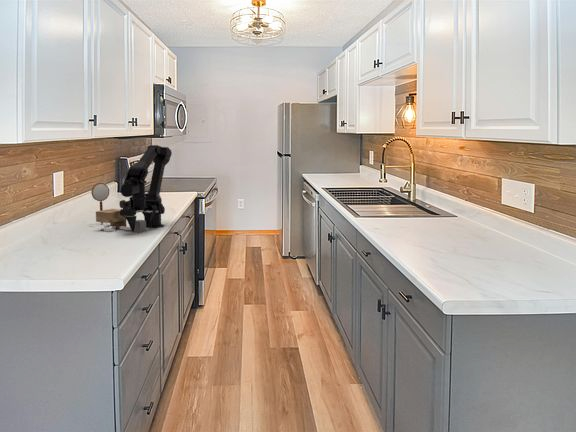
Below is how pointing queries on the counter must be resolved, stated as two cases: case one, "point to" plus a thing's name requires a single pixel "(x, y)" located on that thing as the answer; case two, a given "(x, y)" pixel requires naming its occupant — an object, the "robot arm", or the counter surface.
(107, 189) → the magnifying glass
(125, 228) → the spatula tool
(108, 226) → the steel puck
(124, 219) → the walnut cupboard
